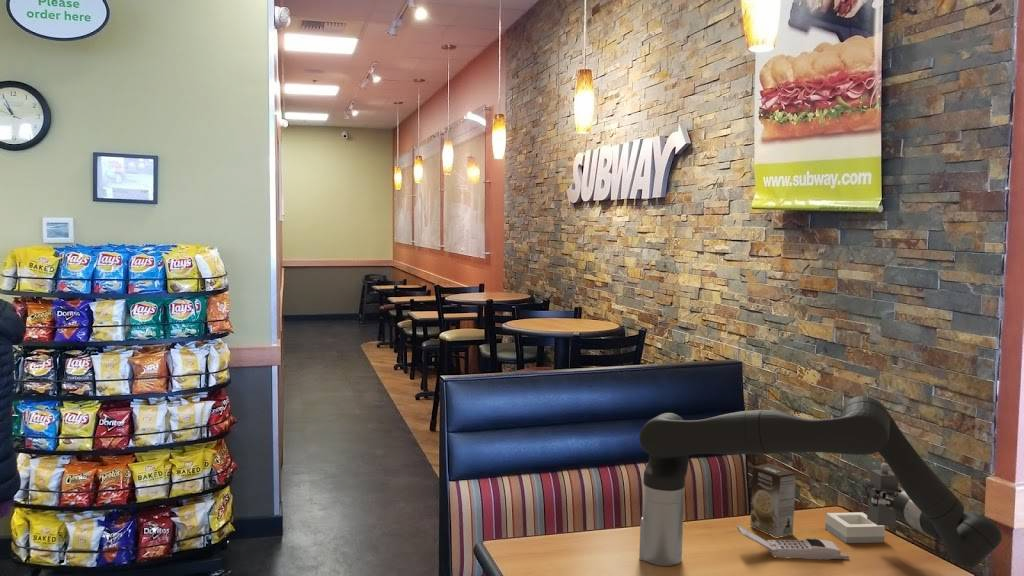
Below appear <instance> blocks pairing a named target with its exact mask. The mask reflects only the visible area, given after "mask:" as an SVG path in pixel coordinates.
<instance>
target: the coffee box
mask: <svg viewBox="0 0 1024 576" xmlns="http://www.w3.org/2000/svg"><path fill="white" fill-rule="evenodd" d="M752 467H753V468H752V485H751V486H752V487H751V506H750V521H749V522H750V523H749V524H750V525H749V526H752V527H755V528H757V529H759V530H761V531H764V532H766V533H768V534H771V535H773V536H775V537H780V536H786V537H788V536H787V535H790V536H793V535H794V534H793V533H794V521H795V504H796V502H795V500H796V487H797V486H796V484H797V472H794V471H791V470H789V469H786V468H783V467H781V466H778V465H775V464H773V463H766V464H758V465H755V466H752ZM752 527H751V528H752ZM792 534H793V535H792Z"/></svg>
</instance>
